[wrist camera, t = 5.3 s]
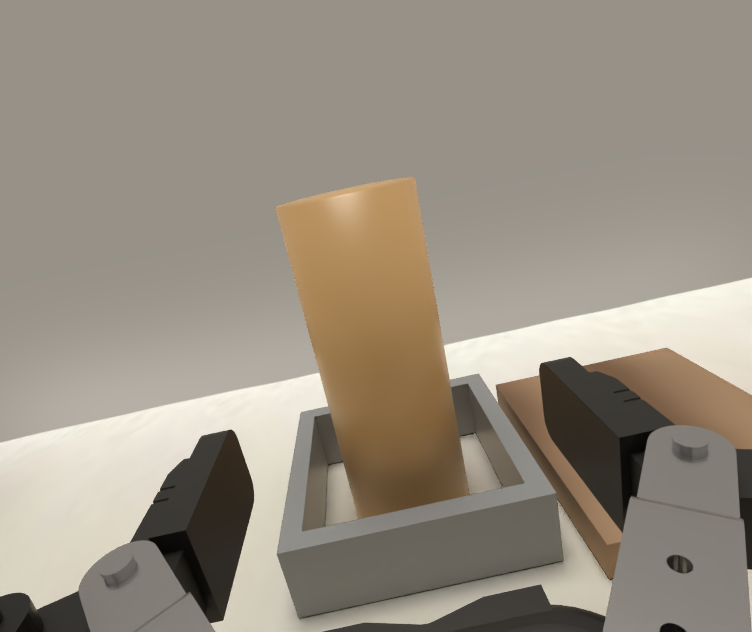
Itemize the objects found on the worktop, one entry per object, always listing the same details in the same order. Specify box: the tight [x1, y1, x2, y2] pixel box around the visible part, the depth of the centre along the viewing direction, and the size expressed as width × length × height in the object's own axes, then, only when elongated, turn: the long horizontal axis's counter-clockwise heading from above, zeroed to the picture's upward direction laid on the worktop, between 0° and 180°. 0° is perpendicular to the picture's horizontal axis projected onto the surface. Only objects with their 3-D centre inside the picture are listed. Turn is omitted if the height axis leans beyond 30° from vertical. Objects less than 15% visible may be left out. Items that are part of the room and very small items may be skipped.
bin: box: [277, 374, 563, 618], centre depth 21 cm, size 10×10×3 cm
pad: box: [496, 348, 752, 579], centre depth 22 cm, size 10×12×2 cm
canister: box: [276, 177, 469, 519], centre depth 20 cm, size 5×5×14 cm
